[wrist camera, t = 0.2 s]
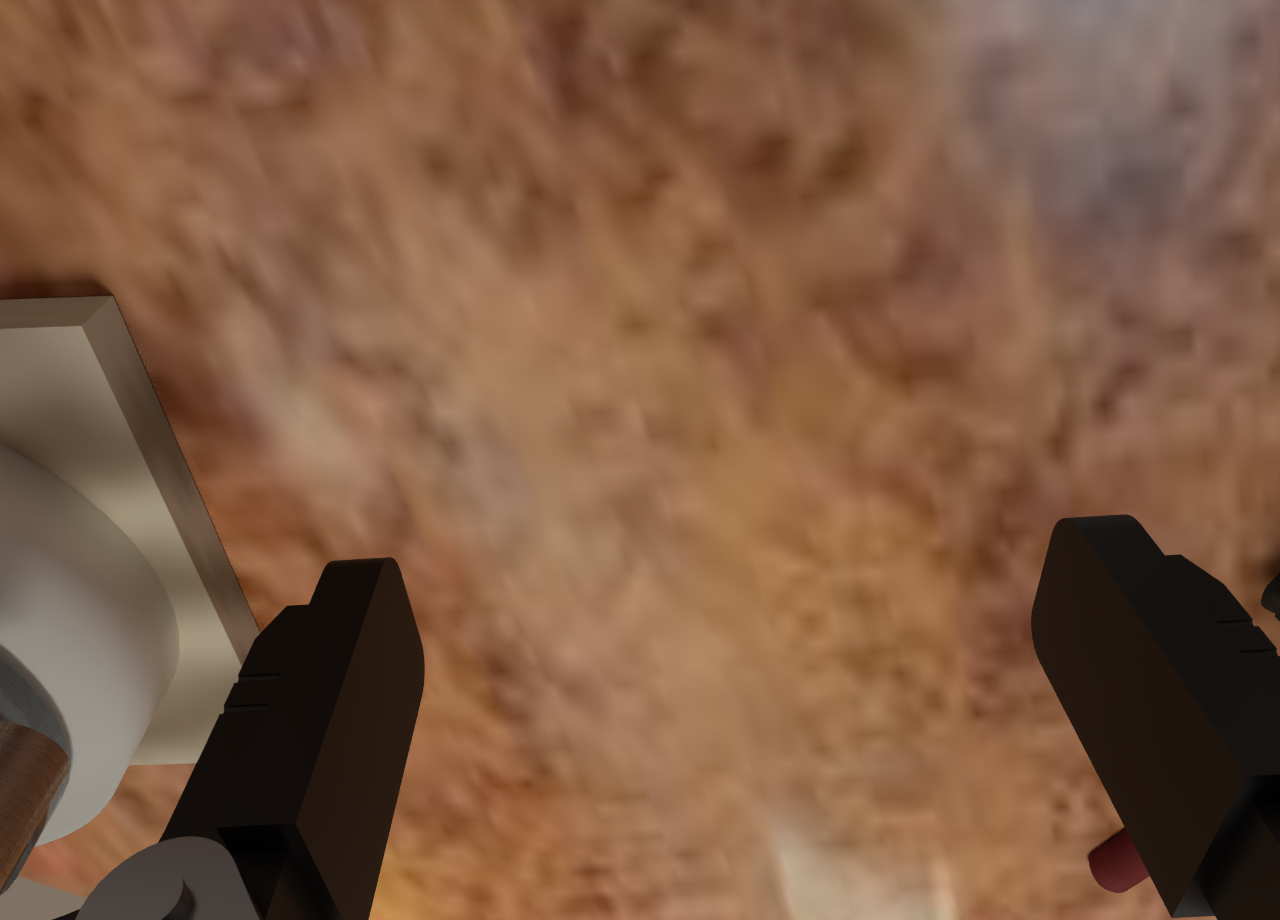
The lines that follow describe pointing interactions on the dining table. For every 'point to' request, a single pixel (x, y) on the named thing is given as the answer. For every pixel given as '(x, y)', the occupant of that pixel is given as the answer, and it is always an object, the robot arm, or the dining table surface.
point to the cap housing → (81, 629)
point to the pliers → (1117, 864)
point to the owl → (1272, 597)
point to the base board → (128, 491)
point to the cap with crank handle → (26, 771)
